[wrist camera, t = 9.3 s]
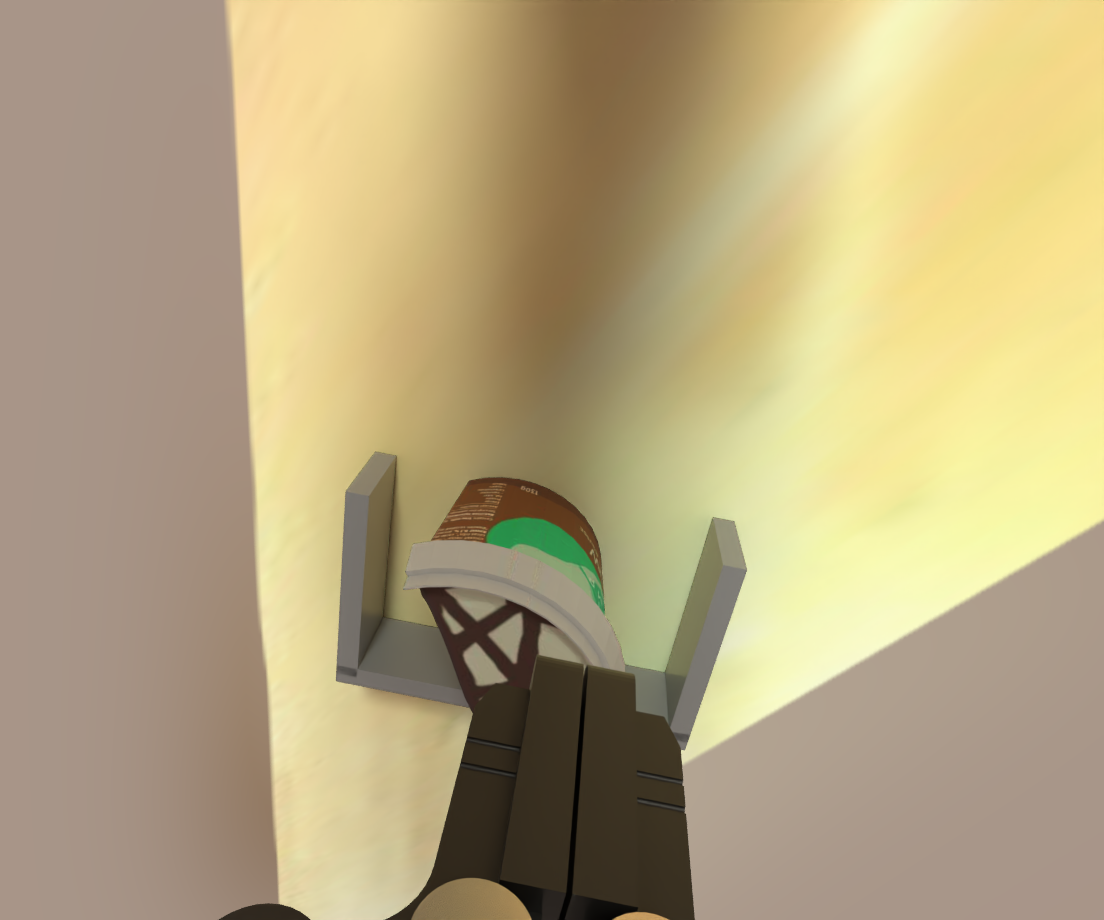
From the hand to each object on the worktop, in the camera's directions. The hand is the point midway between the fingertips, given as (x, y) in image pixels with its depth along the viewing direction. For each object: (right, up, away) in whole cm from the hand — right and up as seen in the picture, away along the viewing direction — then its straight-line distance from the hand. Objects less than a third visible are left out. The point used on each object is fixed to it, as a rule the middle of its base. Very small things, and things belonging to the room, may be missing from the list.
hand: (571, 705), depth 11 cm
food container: (0, 0, +25) cm, 25 cm away
